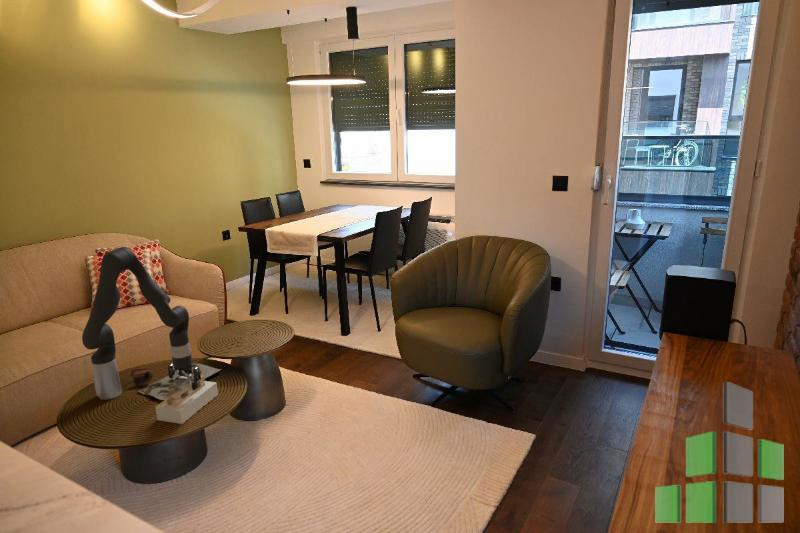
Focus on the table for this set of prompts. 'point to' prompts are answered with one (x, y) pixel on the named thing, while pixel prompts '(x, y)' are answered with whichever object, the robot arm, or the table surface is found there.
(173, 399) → the tan long block
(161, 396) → the stone relief
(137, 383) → the pottery mug
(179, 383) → the grey block
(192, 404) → the white rectangular box
